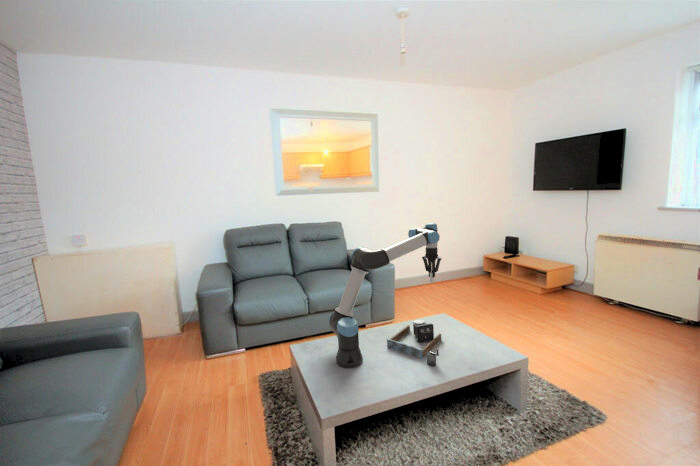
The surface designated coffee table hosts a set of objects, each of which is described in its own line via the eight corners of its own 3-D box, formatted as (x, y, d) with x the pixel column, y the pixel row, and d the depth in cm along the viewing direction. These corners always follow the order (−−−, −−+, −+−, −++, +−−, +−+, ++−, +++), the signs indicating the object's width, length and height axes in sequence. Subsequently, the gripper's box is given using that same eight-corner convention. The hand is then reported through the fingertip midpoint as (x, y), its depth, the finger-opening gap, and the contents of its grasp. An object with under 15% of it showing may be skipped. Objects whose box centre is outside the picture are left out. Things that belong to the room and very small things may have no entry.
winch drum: (425, 364, 171) (424, 348, 170) (429, 360, 175) (429, 344, 174) (436, 368, 167) (436, 352, 166) (440, 364, 171) (440, 348, 170)
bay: (387, 347, 192) (386, 339, 191) (408, 330, 212) (408, 323, 211) (422, 358, 177) (422, 350, 176) (441, 340, 197) (441, 332, 196)
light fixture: (424, 333, 208) (423, 317, 207) (434, 341, 196) (434, 324, 195) (409, 335, 206) (408, 319, 205) (418, 344, 193) (417, 327, 192)
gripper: (419, 247, 206) (420, 281, 210) (438, 248, 198) (438, 284, 202) (424, 245, 212) (425, 278, 216) (443, 246, 204) (443, 281, 207)
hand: (431, 281), depth 209 cm, fingers closed
